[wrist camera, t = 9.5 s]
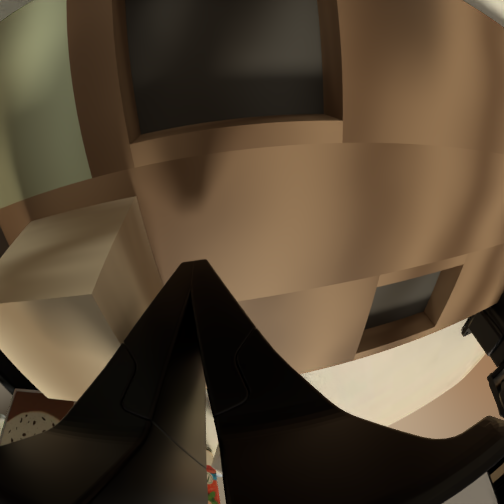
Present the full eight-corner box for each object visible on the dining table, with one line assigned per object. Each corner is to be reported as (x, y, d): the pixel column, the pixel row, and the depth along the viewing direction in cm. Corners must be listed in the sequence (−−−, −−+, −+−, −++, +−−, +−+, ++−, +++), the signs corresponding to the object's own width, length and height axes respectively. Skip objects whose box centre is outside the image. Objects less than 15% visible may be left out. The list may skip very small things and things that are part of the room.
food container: (43, 415, 21) (33, 488, 13) (7, 387, 18) (-10, 468, 9) (126, 420, 21) (124, 513, 13) (89, 391, 18) (79, 502, 10)
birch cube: (136, 196, 8) (91, 293, 5) (168, 300, 11) (161, 403, 7) (30, 221, 8) (-33, 305, 4) (75, 310, 10) (47, 398, 7)
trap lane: (535, 66, 7) (576, 81, 4) (485, 288, 19) (509, 317, 16) (-22, 59, 5) (-82, 71, 1) (102, 369, 16) (94, 419, 13)
